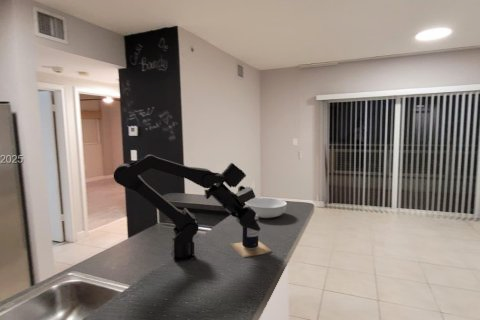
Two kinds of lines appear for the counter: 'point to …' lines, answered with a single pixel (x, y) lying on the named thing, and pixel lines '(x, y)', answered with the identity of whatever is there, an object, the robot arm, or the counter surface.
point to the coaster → (247, 252)
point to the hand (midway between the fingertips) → (254, 225)
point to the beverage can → (250, 236)
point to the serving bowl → (267, 207)
